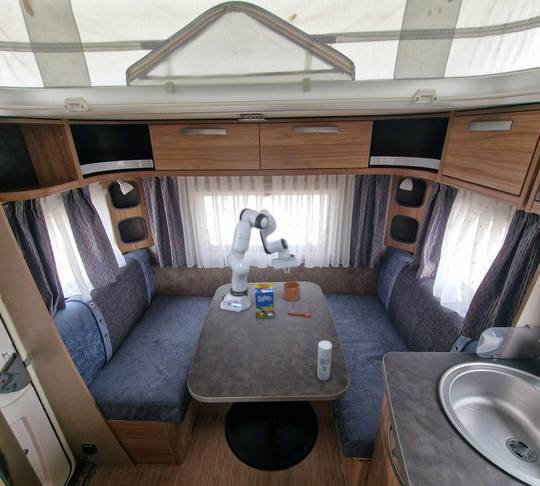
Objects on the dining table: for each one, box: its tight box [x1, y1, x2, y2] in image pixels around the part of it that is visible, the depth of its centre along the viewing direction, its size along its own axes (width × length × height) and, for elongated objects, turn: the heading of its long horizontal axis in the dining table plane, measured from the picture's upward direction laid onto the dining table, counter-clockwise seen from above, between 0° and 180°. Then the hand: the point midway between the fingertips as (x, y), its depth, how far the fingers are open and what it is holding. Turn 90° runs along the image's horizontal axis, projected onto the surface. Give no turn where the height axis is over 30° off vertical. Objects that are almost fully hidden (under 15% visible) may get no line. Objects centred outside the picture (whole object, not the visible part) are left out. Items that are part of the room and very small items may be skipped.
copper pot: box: [283, 280, 301, 302], centre depth 215 cm, size 12×12×10 cm
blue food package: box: [254, 283, 275, 319], centre depth 190 cm, size 6×12×25 cm, turn 92°
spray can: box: [316, 339, 333, 381], centre depth 141 cm, size 6×6×20 cm
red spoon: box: [287, 312, 311, 318], centre depth 194 cm, size 15×4×1 cm, turn 81°
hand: (287, 273), depth 223 cm, fingers closed
